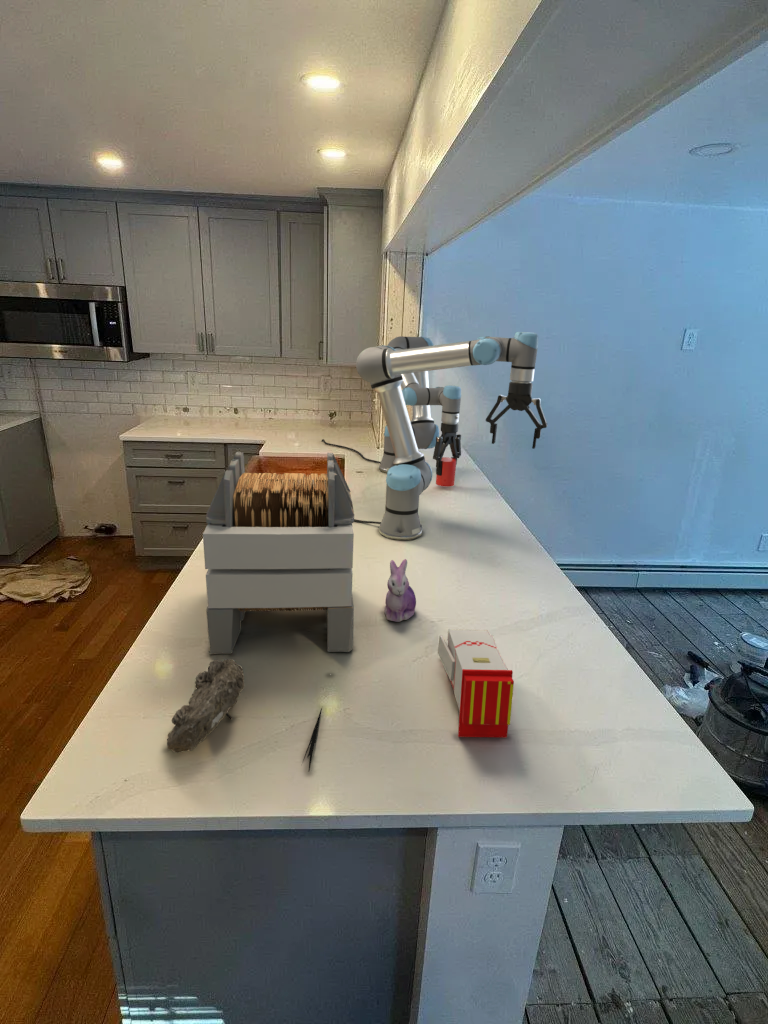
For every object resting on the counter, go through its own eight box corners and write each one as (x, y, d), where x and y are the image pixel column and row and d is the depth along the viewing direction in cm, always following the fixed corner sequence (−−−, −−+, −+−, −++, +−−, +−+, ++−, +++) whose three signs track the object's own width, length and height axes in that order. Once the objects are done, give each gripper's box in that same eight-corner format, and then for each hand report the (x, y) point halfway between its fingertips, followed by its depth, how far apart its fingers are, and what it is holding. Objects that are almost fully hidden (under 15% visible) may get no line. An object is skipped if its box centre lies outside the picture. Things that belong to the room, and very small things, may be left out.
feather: (331, 679, 122) (336, 673, 122) (307, 777, 96) (313, 769, 95) (324, 675, 122) (329, 669, 121) (298, 772, 95) (304, 764, 95)
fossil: (192, 660, 117) (244, 628, 112) (224, 691, 120) (276, 661, 115) (142, 746, 98) (202, 712, 93) (182, 779, 101) (242, 748, 96)
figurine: (392, 627, 141) (395, 572, 136) (374, 608, 149) (376, 556, 144) (425, 619, 145) (429, 566, 140) (405, 601, 154) (408, 550, 149)
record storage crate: (229, 585, 158) (221, 442, 144) (346, 584, 161) (350, 444, 148) (206, 656, 126) (193, 481, 112) (353, 652, 130) (358, 483, 116)
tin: (433, 481, 257) (435, 457, 253) (451, 481, 258) (453, 457, 254) (438, 486, 249) (440, 462, 245) (456, 486, 250) (458, 461, 247)
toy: (488, 613, 130) (523, 677, 101) (484, 667, 133) (517, 744, 104) (435, 612, 130) (455, 676, 101) (432, 666, 133) (451, 743, 103)
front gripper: (561, 383, 185) (552, 447, 192) (485, 377, 193) (479, 438, 200) (559, 386, 178) (550, 452, 185) (481, 379, 186) (474, 443, 193)
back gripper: (439, 426, 235) (435, 478, 243) (472, 421, 248) (467, 471, 256) (426, 423, 240) (422, 474, 248) (459, 419, 254) (455, 468, 261)
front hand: (513, 445), depth 192 cm, fingers open, 13 cm apart
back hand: (445, 473), depth 252 cm, fingers closed on tin, 8 cm apart
